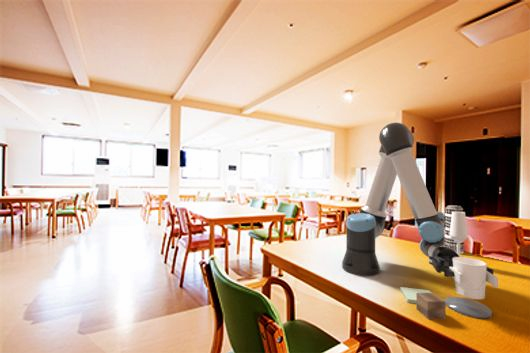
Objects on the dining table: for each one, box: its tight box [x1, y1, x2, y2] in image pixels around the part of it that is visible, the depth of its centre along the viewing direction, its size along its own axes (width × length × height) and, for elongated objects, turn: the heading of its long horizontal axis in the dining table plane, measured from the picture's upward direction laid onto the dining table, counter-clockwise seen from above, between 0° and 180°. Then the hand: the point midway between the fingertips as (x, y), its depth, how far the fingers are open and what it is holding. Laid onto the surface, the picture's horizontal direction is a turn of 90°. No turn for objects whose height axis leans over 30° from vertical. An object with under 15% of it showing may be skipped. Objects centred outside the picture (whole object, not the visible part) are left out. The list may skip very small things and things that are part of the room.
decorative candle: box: [444, 204, 465, 255], centre depth 132 cm, size 9×9×25 cm
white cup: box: [453, 256, 488, 300], centre depth 73 cm, size 8×8×10 cm
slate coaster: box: [444, 296, 493, 319], centre depth 73 cm, size 11×11×1 cm
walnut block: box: [416, 292, 447, 320], centre depth 70 cm, size 5×5×5 cm
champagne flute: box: [449, 211, 469, 257], centre depth 112 cm, size 7×7×24 cm
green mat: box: [399, 286, 432, 304], centre depth 79 cm, size 9×9×1 cm
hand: (478, 280), depth 68 cm, fingers closed on white cup, 7 cm apart
